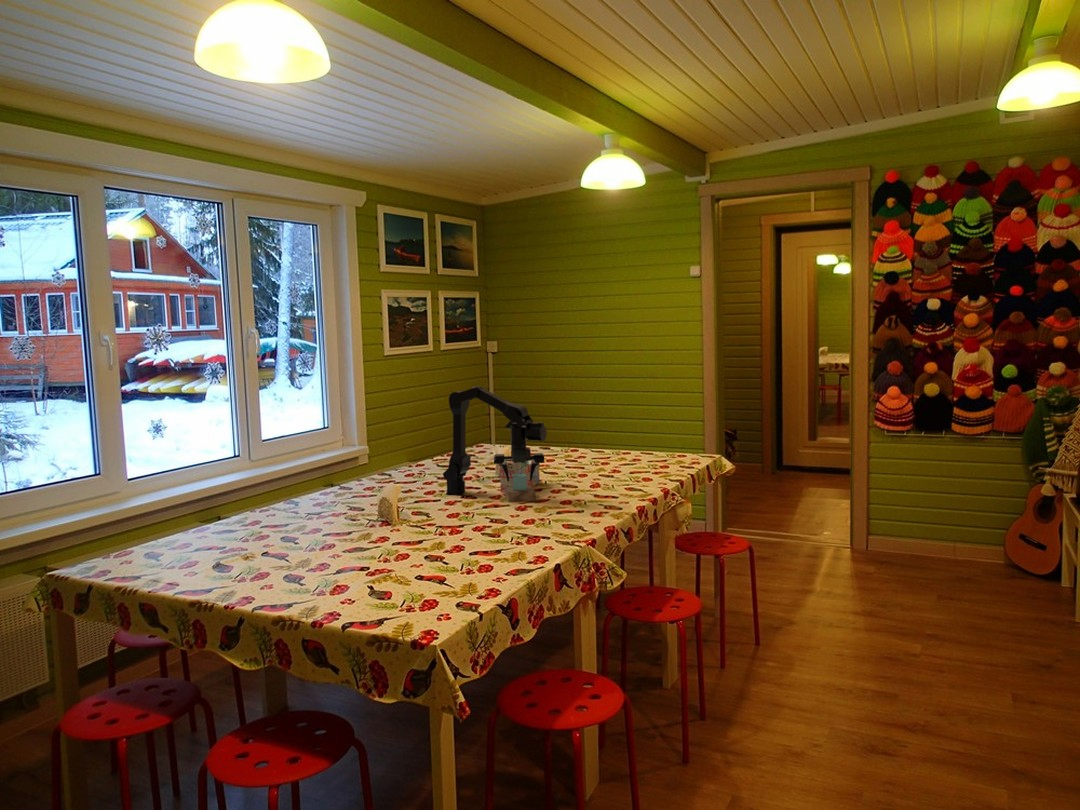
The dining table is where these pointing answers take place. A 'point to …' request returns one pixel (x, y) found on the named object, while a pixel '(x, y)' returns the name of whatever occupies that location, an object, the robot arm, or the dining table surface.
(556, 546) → the dining table surface
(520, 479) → the teal cube
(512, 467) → the stack of blocks
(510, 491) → the walnut block
